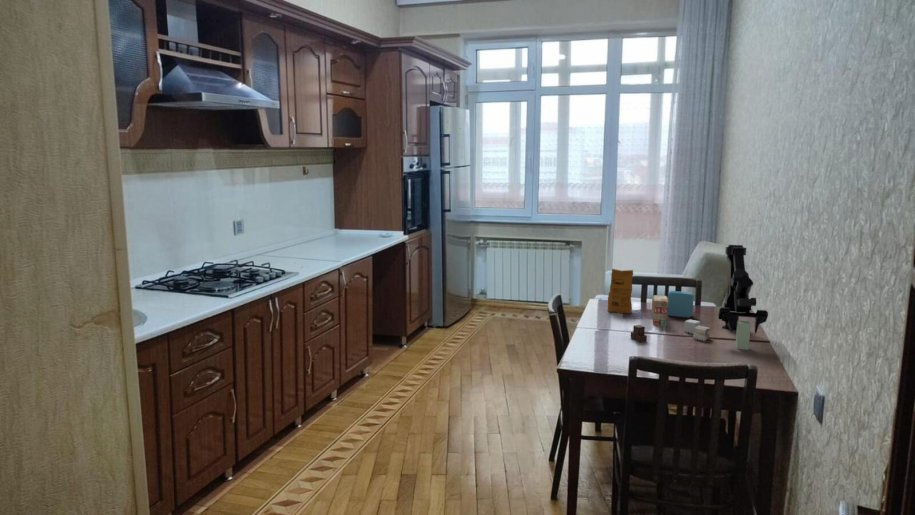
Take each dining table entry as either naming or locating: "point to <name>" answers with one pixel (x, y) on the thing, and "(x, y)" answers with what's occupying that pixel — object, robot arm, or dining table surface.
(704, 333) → the oatmeal cube
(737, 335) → the sage green block
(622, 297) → the coffee package
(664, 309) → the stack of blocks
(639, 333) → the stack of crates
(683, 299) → the light blue box
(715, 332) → the dining table surface
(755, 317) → the robot arm
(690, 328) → the light grey cube
